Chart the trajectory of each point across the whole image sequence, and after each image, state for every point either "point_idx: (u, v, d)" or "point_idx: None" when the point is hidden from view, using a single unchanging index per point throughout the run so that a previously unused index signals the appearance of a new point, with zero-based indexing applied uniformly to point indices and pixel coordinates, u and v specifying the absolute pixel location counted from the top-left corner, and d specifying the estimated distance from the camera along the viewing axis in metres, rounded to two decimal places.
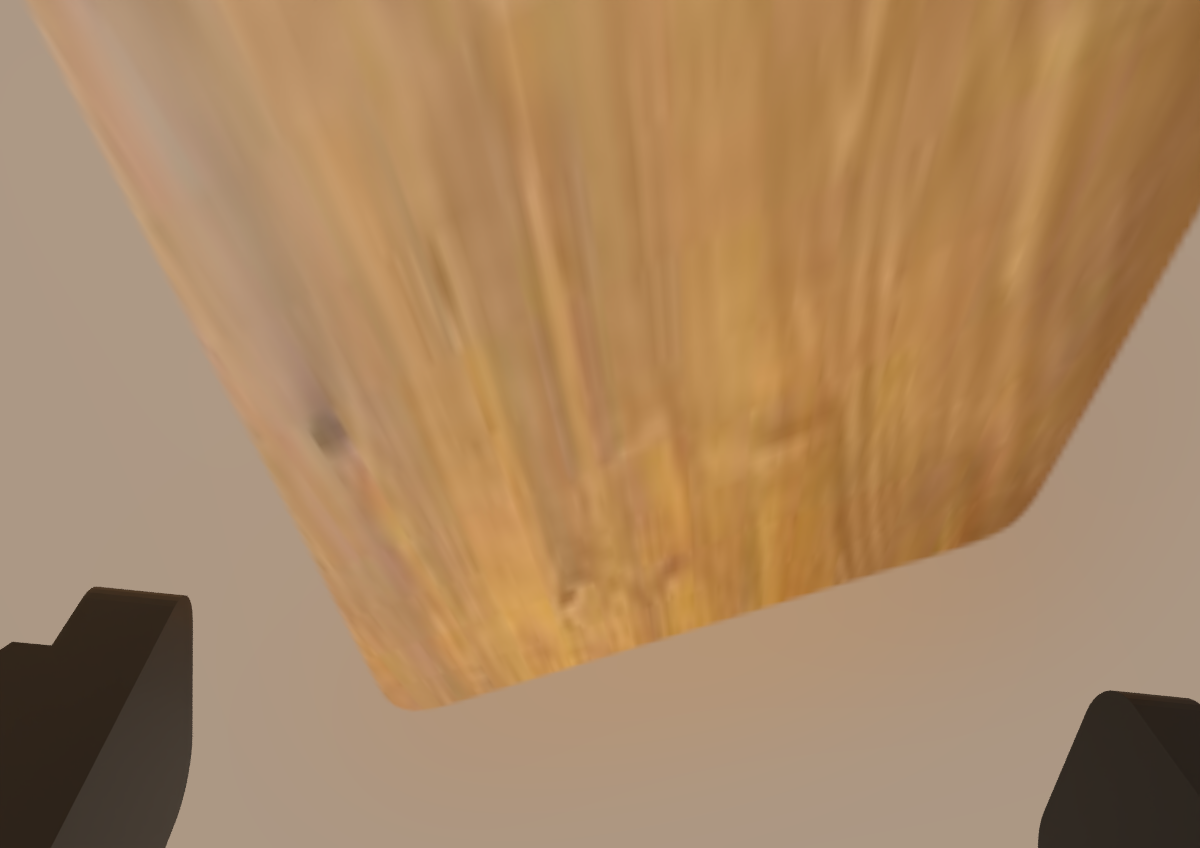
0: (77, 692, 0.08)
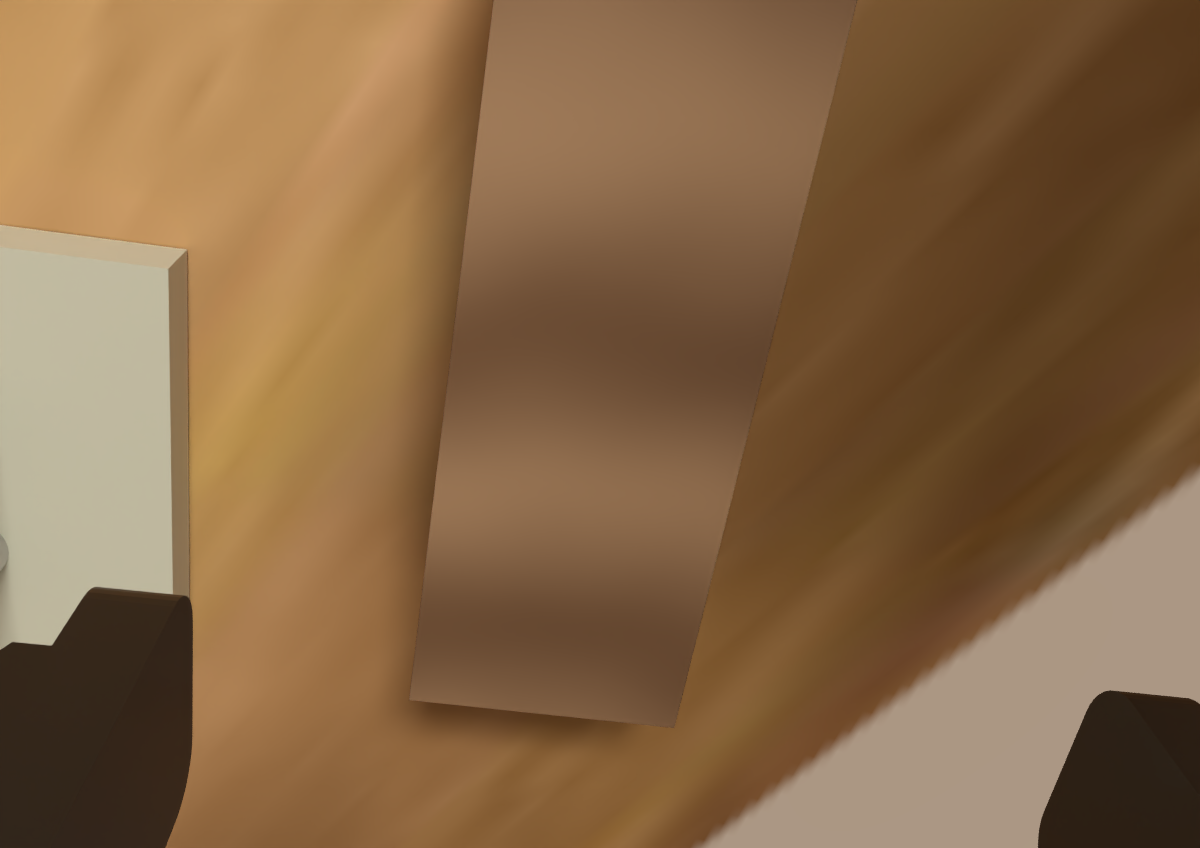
0: (77, 692, 0.08)
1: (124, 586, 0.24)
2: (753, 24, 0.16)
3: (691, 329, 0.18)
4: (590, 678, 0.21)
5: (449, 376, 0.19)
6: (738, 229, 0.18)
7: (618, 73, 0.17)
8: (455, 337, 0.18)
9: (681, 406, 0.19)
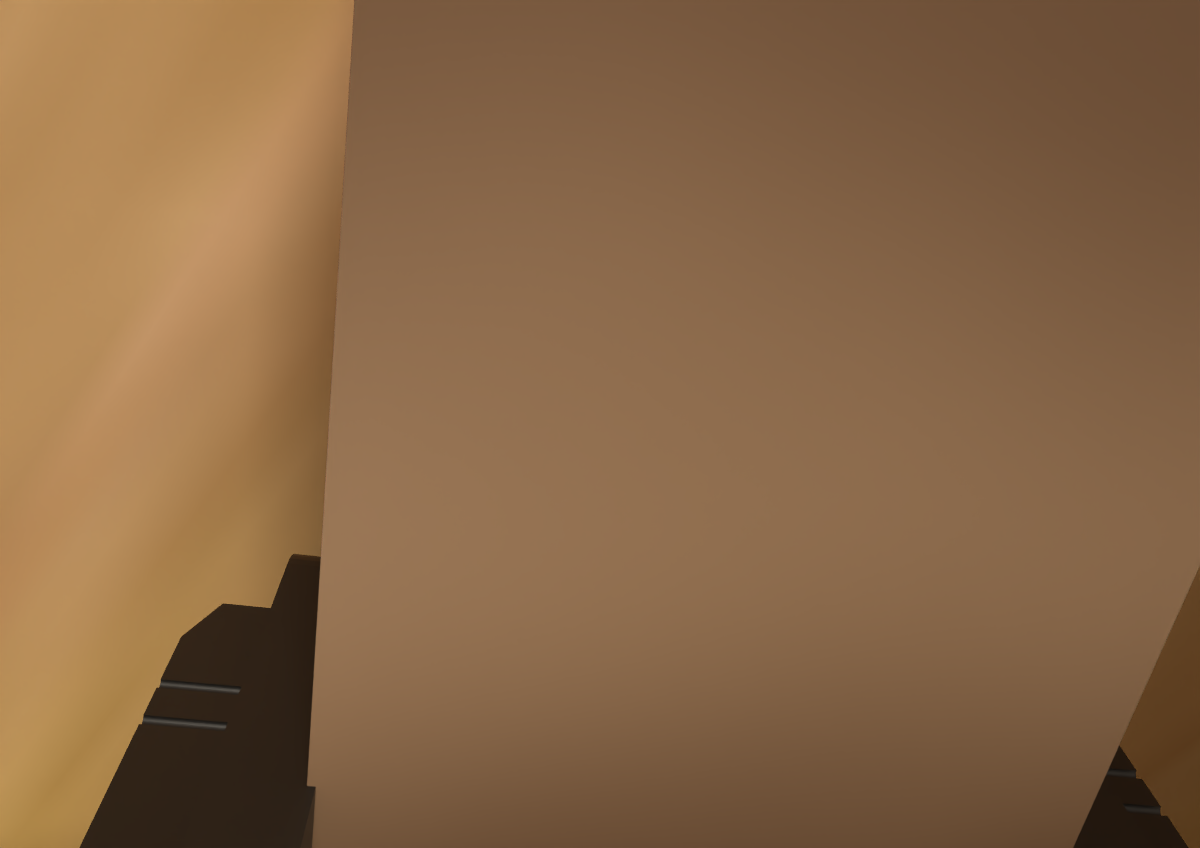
0: (305, 644, 0.08)
1: None
2: (1062, 292, 0.06)
3: None
4: None
5: None
6: (975, 742, 0.07)
7: (692, 418, 0.06)
8: None
9: None
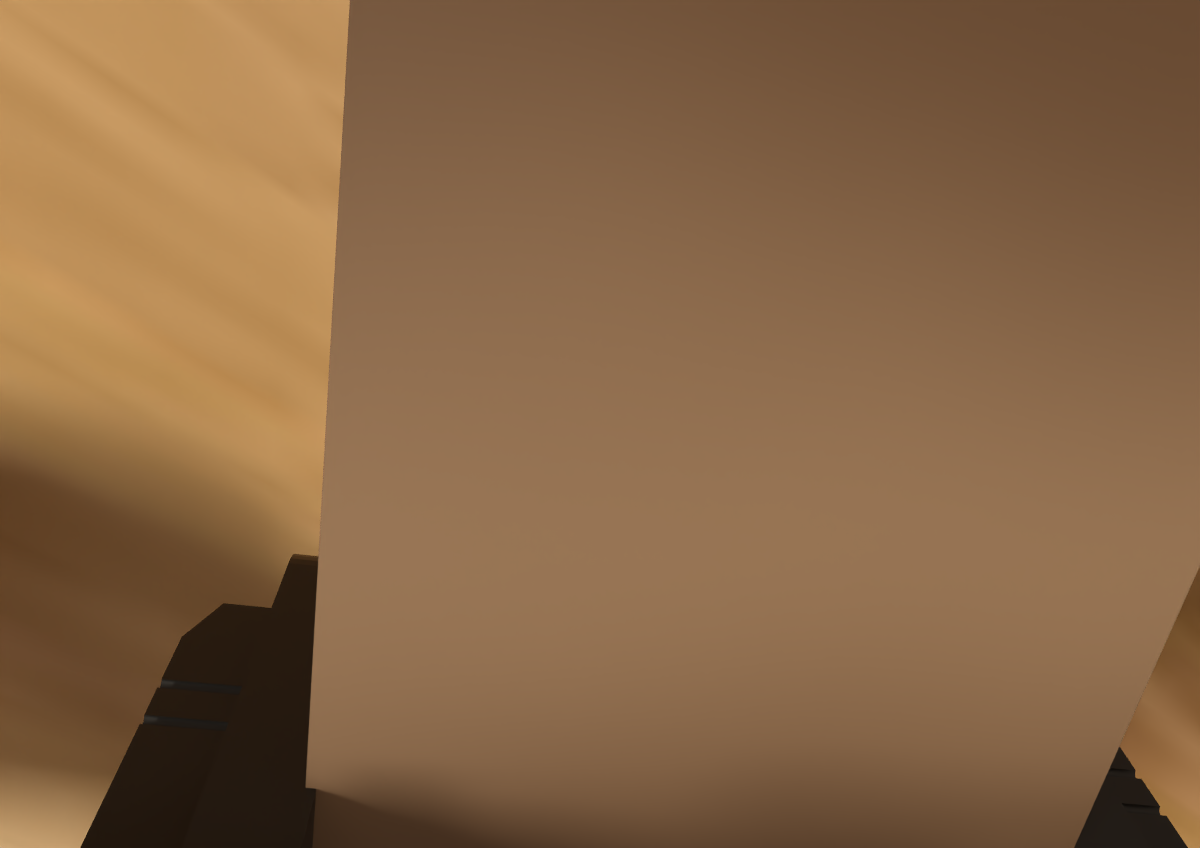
0: (306, 644, 0.08)
1: None
2: (1059, 296, 0.06)
3: None
4: None
5: None
6: (973, 748, 0.07)
7: (688, 424, 0.06)
8: None
9: None
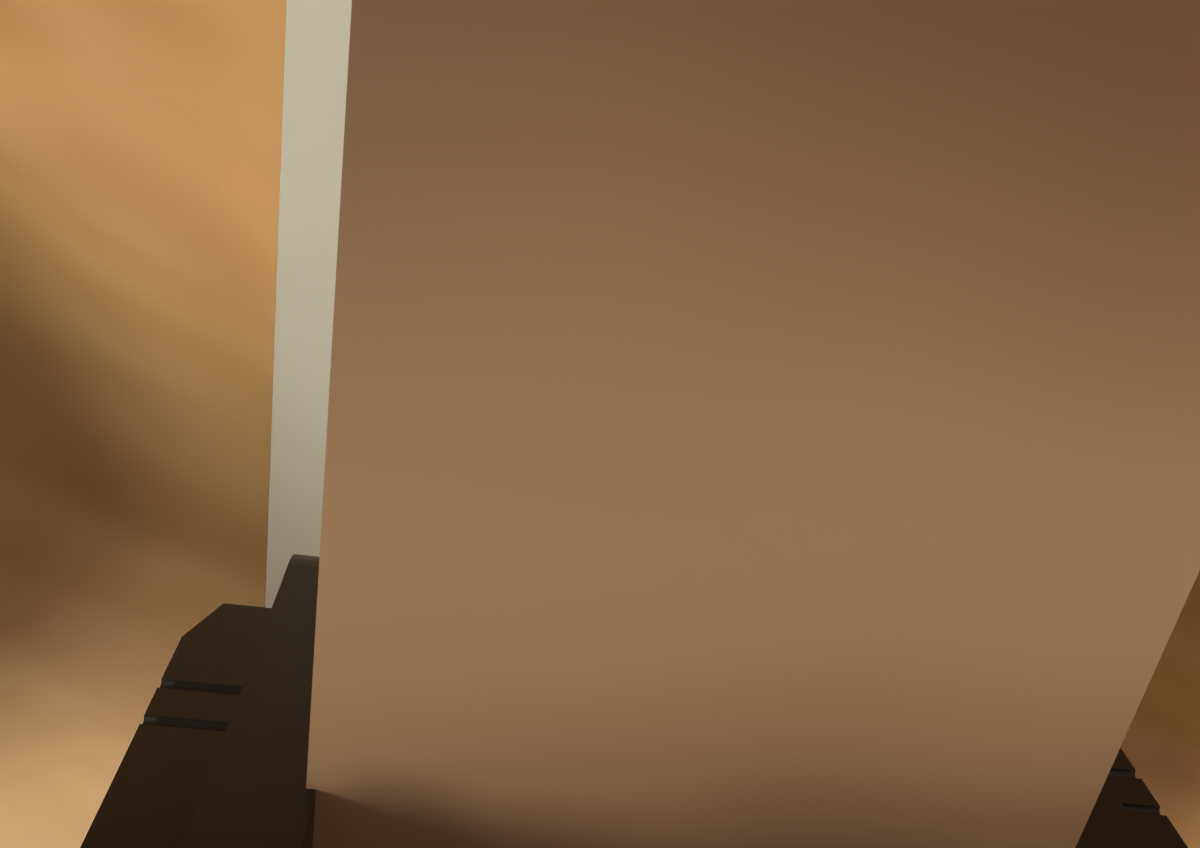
0: (306, 644, 0.08)
1: None
2: (1060, 297, 0.06)
3: None
4: None
5: None
6: (974, 748, 0.07)
7: (692, 424, 0.06)
8: None
9: None
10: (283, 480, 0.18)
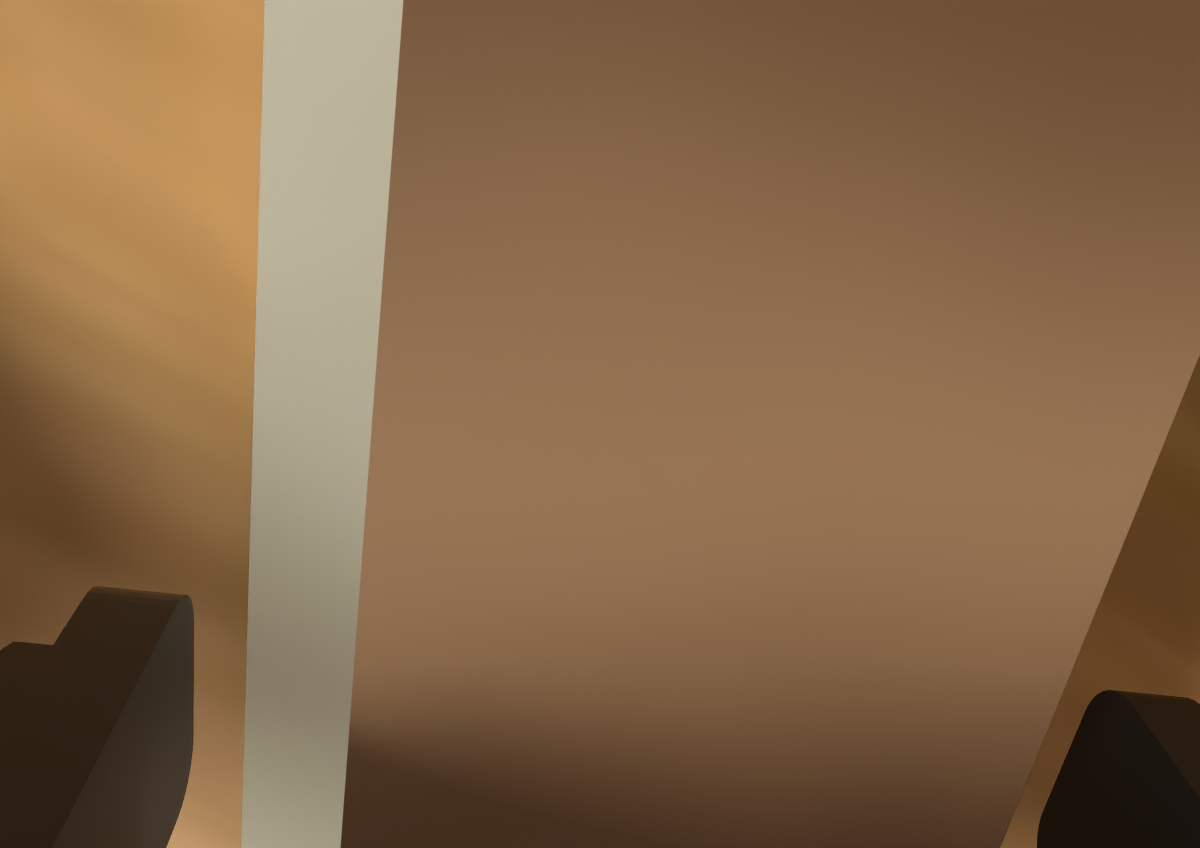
0: (79, 691, 0.08)
1: None
2: (1016, 243, 0.07)
3: (837, 830, 0.09)
4: None
5: None
6: (948, 655, 0.08)
7: (693, 358, 0.07)
8: None
9: None
10: (265, 525, 0.17)
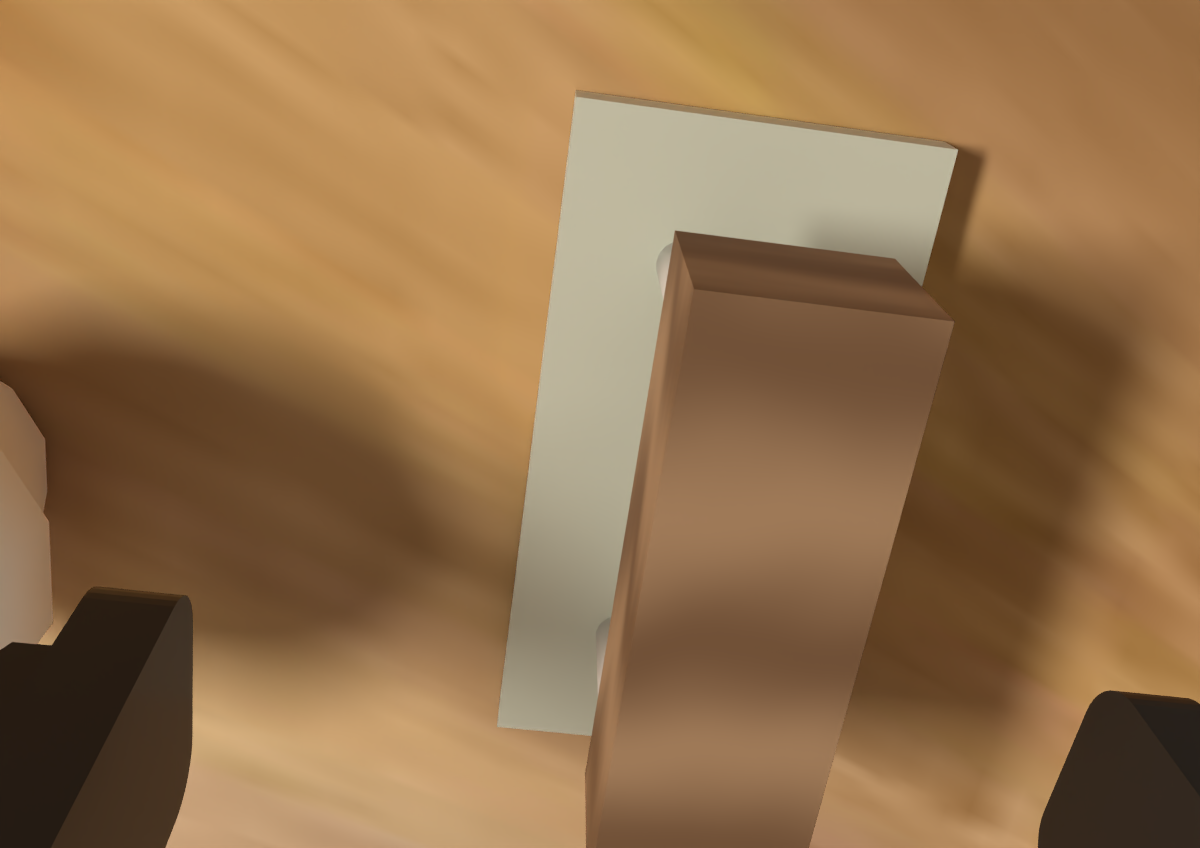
0: (77, 692, 0.08)
1: (844, 172, 0.29)
2: (850, 447, 0.23)
3: (805, 640, 0.25)
4: None
5: (627, 676, 0.25)
6: (839, 575, 0.24)
7: (755, 481, 0.23)
8: (632, 650, 0.25)
9: (797, 691, 0.26)
10: (528, 536, 0.34)
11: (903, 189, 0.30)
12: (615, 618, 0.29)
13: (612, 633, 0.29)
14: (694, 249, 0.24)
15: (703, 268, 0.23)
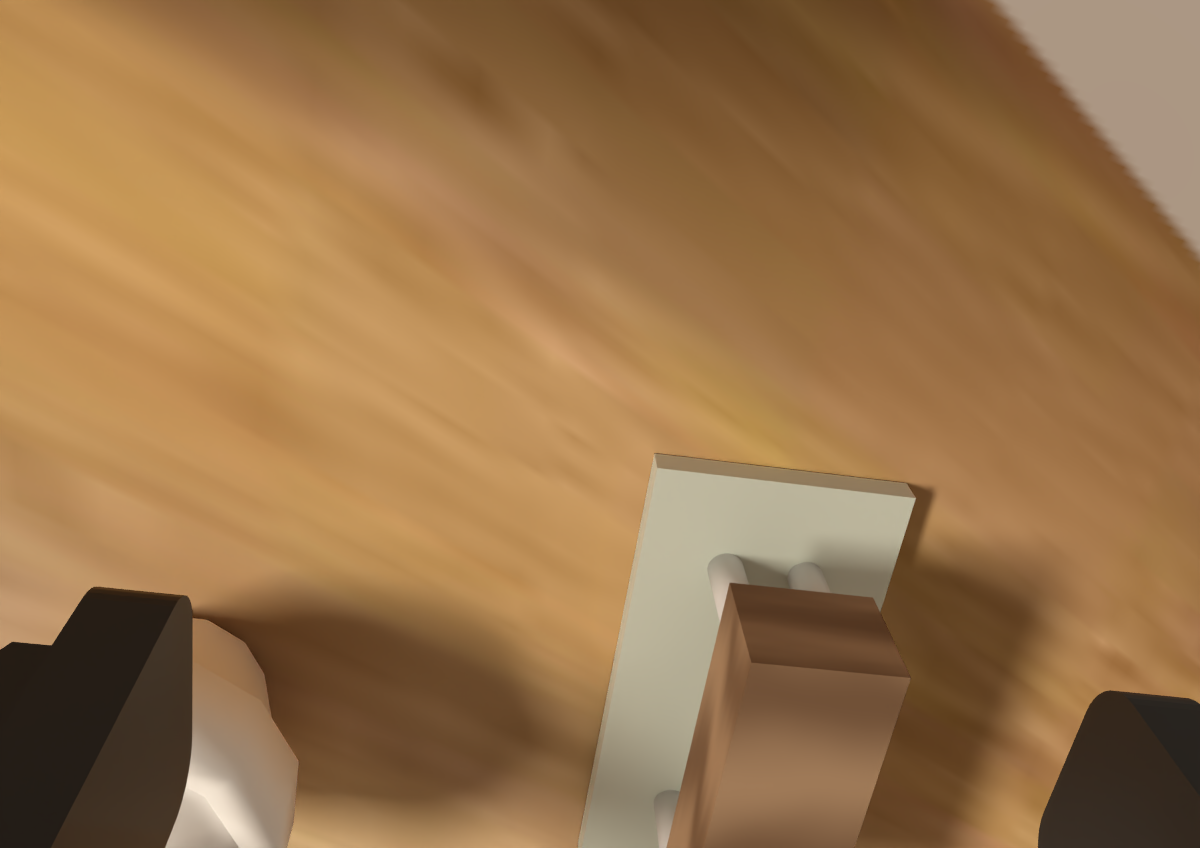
0: (78, 691, 0.08)
1: (838, 512, 0.43)
2: (845, 746, 0.37)
3: None
4: None
5: None
6: (836, 817, 0.38)
7: (784, 765, 0.37)
8: None
9: None
10: (608, 738, 0.47)
11: (878, 522, 0.43)
12: (680, 818, 0.42)
13: (677, 827, 0.43)
14: (745, 608, 0.38)
15: (754, 633, 0.37)
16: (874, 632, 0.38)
